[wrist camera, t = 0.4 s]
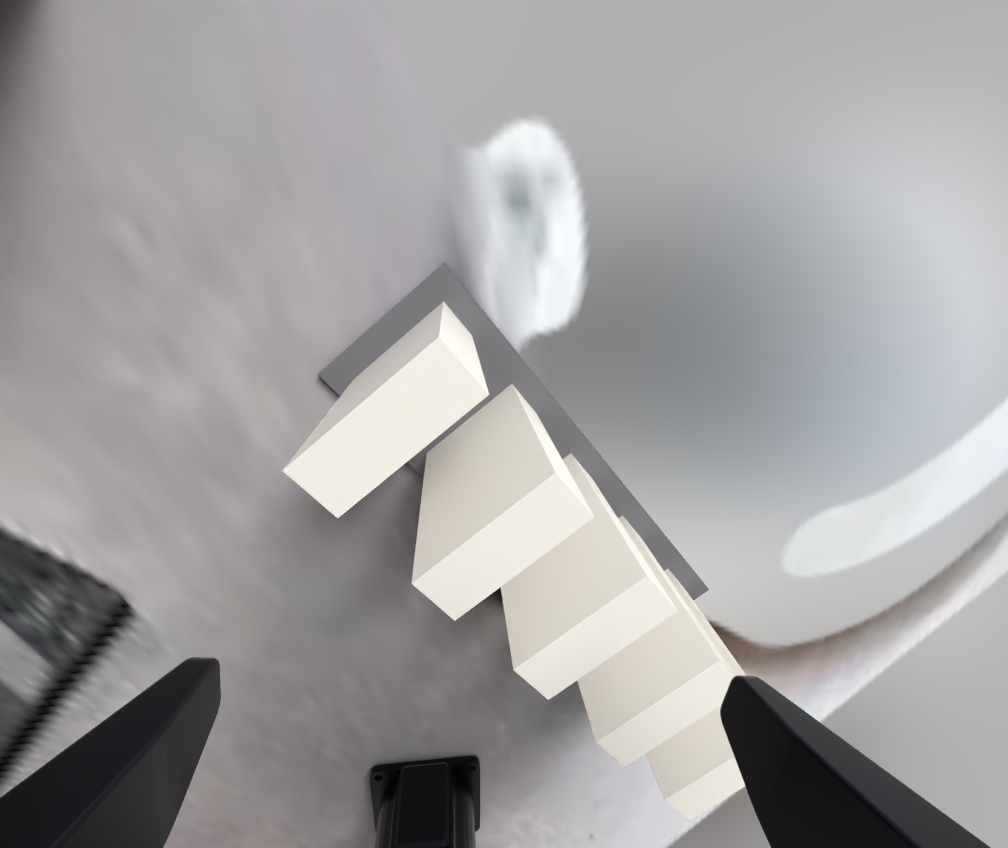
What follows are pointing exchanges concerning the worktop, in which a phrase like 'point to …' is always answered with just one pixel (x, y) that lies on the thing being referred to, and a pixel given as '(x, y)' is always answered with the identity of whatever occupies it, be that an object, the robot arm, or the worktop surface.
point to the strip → (499, 373)
